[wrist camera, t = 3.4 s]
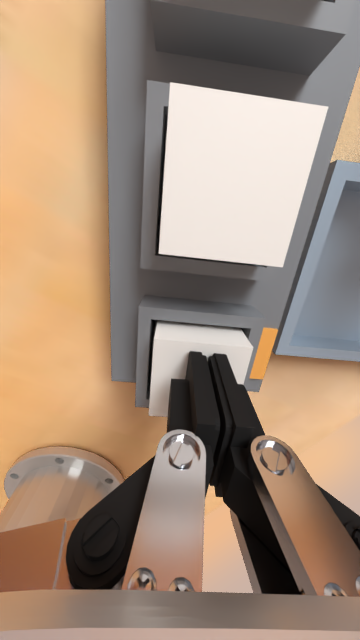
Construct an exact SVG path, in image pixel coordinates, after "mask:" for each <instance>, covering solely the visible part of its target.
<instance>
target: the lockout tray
mask: <svg viewBox="0 0 360 640" xmlns="http://www.w3.org/2000/svg"><path fill="white" fill-rule="evenodd" d="M272 351H273V352H274V353H275V354H277V355H289V356H300V357H312V358H324V359H335V360H347V361H358V362H360V163H356V162H349V161H341V160H336V161H334V162H331V163H330V164H329V167H328V170H327V173H326V177H325V180H324V183H323V186H322V190H321V193H320V196H319V199H318V202H317V206H316V209H315V212H314V215H313V219H312V222H311V225H310V228H309V231H308V235H307V238H306V241H305V244H304V248H303V251H302V254H301V257H300V260H299V264H298V267H297V270H296V273H295V277H294V280H293V283H292V286H291V290H290V293H289V296H288V299H287V302H286V306H285V309H284V312H283V315H282V319H281V322H280V325H279V328H278V332H277V335H276V339H275V342H274V345H273V348H272Z"/></svg>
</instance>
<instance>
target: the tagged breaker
mask: <svg viewBox="0 0 360 640" xmlns="http://www.w3.org/2000/svg"><path fill="white" fill-rule="evenodd" d="M190 351H196V352H202V355H206V357H207V362H208V357H209V356H213V354H214V353H218V354H226V355H227V357H228V360H229V363H230V365H231V368H232V371H233V373H234V376H235V378H236V381H237V384H244V380H245V377H246V373H247V369H248V366H249V362H250V358H251V355H252V351H253V346H252V345H251V343H250V342H249V340H248V339H247V337H246V336H245V334H244V333H243V331H242V330H241V328H240V327H229V326H218V325H207V324H196V323H186V322H175V321H164V320H158V321H157V326H156V331H155V336H154V344H153V358H152V373H151V387H150V402H149V416H162V417H168V404H169V393H170V384H171V378H173V379H185V378H186V371H187V364H188V357H189V352H190Z"/></svg>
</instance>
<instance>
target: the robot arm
mask: <svg viewBox="0 0 360 640" xmlns="http://www.w3.org/2000/svg"><path fill="white" fill-rule="evenodd" d="M209 484H210V486H214V487H215V494H216V497H223V501H224V503H225V504H226V505H227V506H228V507H229V508H230V514H231V519H232V522H233V526H234V529H235V533H236V536H237V539H238V543H239V546H240V550H241V553H242V556H243V560H244V563H245V566H246V570H247V573H248V576H249V579H250V583H251V586H252V589H253V593H222V592H202V573H203V540H204V539H203V538H204V507H205V497H206V493H207V489H208V485H209ZM4 489H5V492H6V495H7V497H8V498H9V500H8V502H7V504H6V505H5V507H4V508H3V510H2V512H1V513H0V640H360V516H359V515H357V514H356V513H354V512H353V511H352V510H351V509H349V508H348V507H346V506H345V505H344V504H342V503H341V502H340V501H338V500H337V499H336V498H334V497H333V496H332V495H330V494H329V493H328V492H326V491H325V490H323V489H322V488H321V487H319V486H318V485H317V484H315V482H314V481H313V479H312V478H311V476H310V475H309V473H308V472H307V470H306V469H305V467H304V466H303V464H302V463H301V461H300V460H299V458H298V457H297V455H296V454H295V453H294V451H293V450H292V449H291V448H290V447H289V446H288V445H287V444H285V443H284V442H283V441H281V440H279V439H277V438H275V437H272V436H265V433H264V431H263V429H262V426H261V424H260V421H259V419H258V417H257V414H256V412H255V410H254V407H253V405H252V402H251V400H250V398H249V395H248V393H247V390H246V388H245V386H244V385H243V384H237V381H236V378H235V376H234V373H233V371H232V368H231V365H230V363H229V360H228V357H227V355H226V354H218V353H214V354H213V356H209V357H208V362H207V357H206V355H202V352H196V351H190V352H189V357H188V364H187V371H186V378H185V379H173V378H171V384H170V393H169V404H168V420H167V434H165V435H164V436H163V437H162V438H161V440H160V442H159V445H158V448H157V452H156V455H155V456H154V457H153V458H152V459H150V460H149V461H148V462H147V463H146V464H144V465H143V466H142V467H141V468H139V469H138V470H137V471H136V472H135V473H133V474H132V475H131V476H130V477H129V478H127V479H126V480H125V481H124V479H123V477H122V476H121V474H120V472H119V471H118V470H117V469H116V468H115V467H114V466H113V465H112V464H111V463H110V462H108V461H107V460H106V459H104V458H102V457H100V456H98V455H96V454H94V453H91V452H89V451H86V450H82V449H78V448H73V447H62V446H57V447H45V448H40V449H36V450H33V451H30V452H28V453H26V454H24V455H23V456H21V457H20V458H18V459H17V460H16V461H15V462H14V464H13V465H12V467H11V468H10V469H9V471H8V472H7V474H6V477H5V480H4Z"/></svg>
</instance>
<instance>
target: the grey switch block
mask: <svg viewBox="0 0 360 640" xmlns="http://www.w3.org/2000/svg"><path fill="white" fill-rule="evenodd" d="M105 7H106V68H107V129H108V190H109V251H110V312H111V373H112V381H121V382H135V383H136V398H135V407H146V408H149V402H150V387H151V373H152V358H153V344H154V336H155V331H156V326H157V321H158V320H164V321H175V322H186V323H196V324H207V325H218V326H229V327H240V328H241V330H242V331H243V333H244V334H245V336H246V337H247V339H248V340H249V342H250V343H251V345H252V346H253V351H252V355H251V358H250V362H249V366H248V369H247V373H246V377H245V380H244V384H243V385H244V386H245V388H246V390H247V391H253V392H259V390H260V386H261V383H262V380H263V377H264V374H265V371H266V368H267V364H268V361H269V358H270V355H271V352H272V348H273V345H274V342H275V339H276V335H277V332H278V328H279V325H280V322H281V319H282V315H283V312H284V309H285V306H286V302H287V299H288V296H289V293H290V290H291V286H292V283H293V280H294V277H295V273H296V270H297V267H298V264H299V260H300V257H301V254H302V251H303V248H304V244H305V241H306V238H307V235H308V231H309V228H310V225H311V222H312V219H313V215H314V212H315V209H316V206H317V202H318V199H319V196H320V193H321V190H322V186H323V183H324V180H325V177H326V173H327V170H328V167H329V164H330V160H331V157H332V154H333V151H334V148H335V144H336V141H337V138H338V135H339V131H340V128H341V125H342V122H343V119H344V115H345V112H346V109H347V106H348V102H349V99H350V96H351V93H352V89H353V86H354V83H355V80H356V77H357V73H358V70H359V67H360V0H105Z"/></svg>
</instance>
